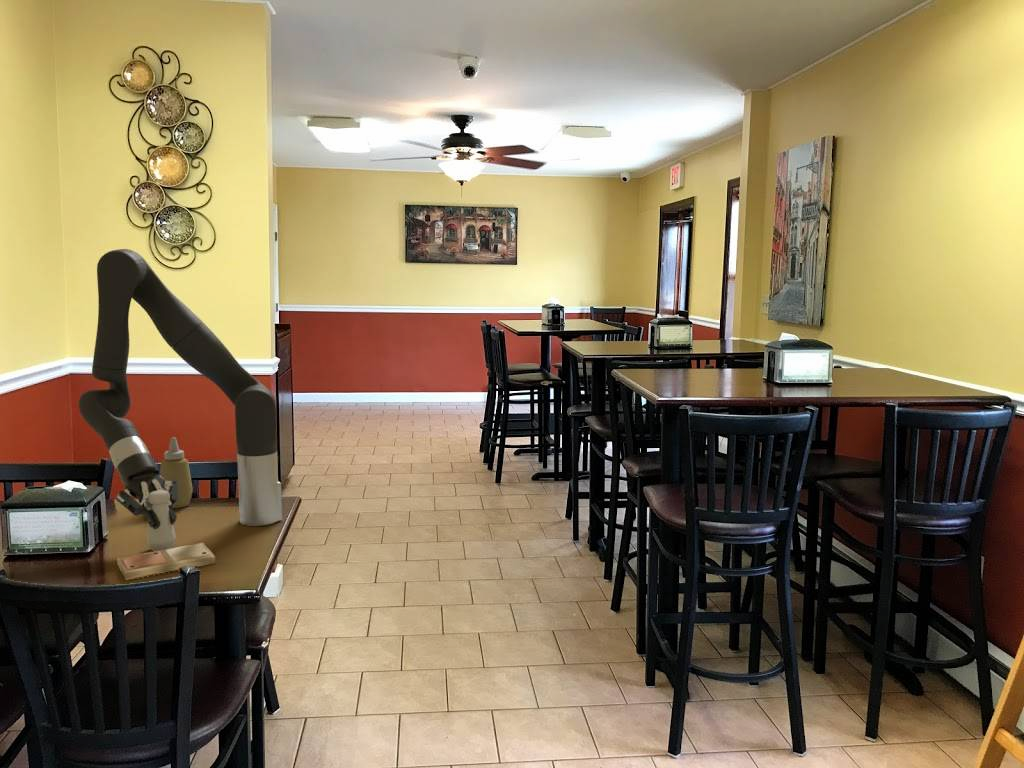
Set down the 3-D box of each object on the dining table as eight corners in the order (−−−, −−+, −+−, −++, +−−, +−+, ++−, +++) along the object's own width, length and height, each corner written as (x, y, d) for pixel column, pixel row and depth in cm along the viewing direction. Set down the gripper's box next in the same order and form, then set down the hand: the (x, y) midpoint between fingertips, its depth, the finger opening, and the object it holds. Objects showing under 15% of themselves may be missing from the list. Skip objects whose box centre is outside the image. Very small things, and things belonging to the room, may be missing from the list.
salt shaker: (164, 554, 167) (161, 496, 165) (141, 552, 168) (137, 494, 166) (181, 545, 173) (178, 489, 171) (158, 543, 174) (155, 487, 172)
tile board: (203, 549, 171) (202, 540, 170) (215, 563, 163) (214, 554, 162) (117, 564, 161) (117, 556, 161) (126, 580, 153) (125, 571, 153)
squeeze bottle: (187, 510, 198) (184, 441, 196) (154, 510, 198) (151, 441, 195) (197, 501, 206) (194, 434, 204) (166, 501, 206) (162, 434, 203)
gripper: (106, 457, 166) (139, 523, 161) (168, 446, 178) (201, 508, 172) (96, 477, 170) (127, 542, 165) (157, 465, 181) (189, 526, 176)
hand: (165, 524), depth 168 cm, fingers closed on salt shaker, 3 cm apart
